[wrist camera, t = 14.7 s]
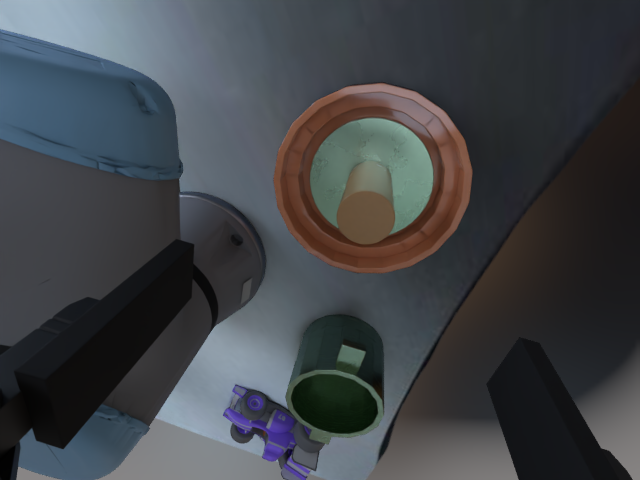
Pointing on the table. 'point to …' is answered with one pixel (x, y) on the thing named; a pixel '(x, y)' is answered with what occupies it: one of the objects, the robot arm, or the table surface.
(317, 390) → the green open cylinder
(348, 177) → the green disc with rod
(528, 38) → the table surface
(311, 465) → the toy race car
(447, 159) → the bowl
